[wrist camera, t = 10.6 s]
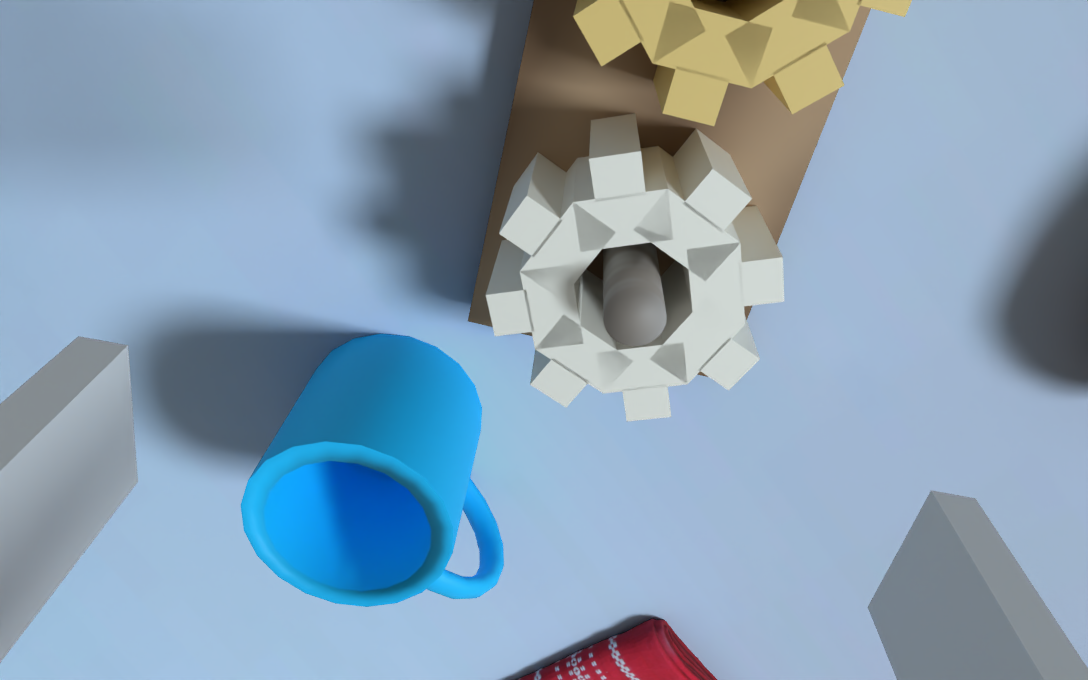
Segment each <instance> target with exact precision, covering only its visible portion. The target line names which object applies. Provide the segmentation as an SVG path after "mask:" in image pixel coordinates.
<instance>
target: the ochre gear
mask: <svg viewBox="0 0 1088 680" xmlns="http://www.w3.org/2000/svg"><path fill="white" fill-rule="evenodd" d="M911 1H912V0H727V1H726V2H722V1H718V0H577V3H576V7H575V11H574V15H573V17H574V19H575V21H576V22H577V24H578V26H579V28H580V29H581V31H582V33H583V35H584V37H585V38H586V40H587V42H588V44H589V45H590V47H591V49H592V51H593V52H594V54H595V56H596V58H597V59H598V61H599V63H600V65H601V67H602V66H603V65H605V64H606V63H608V62H610V61H611V60H613V59H614V58H616V57H618V56H619V55H621V54H622V53H624V52H626V51H627V50H629V49H630V48H632V47H634V46H635V45H637V44H638V43H640V42H641V43H642V45H643V47H644V48H645V50H646V52H647V54H648V56H649V58H650V60H651V61H652V63H653V64H657V69H656V72H655V76H654V79H653V82H654V86H655V89H656V93H657V96H658V100H659V103H660V107H661V110H662V113H663V114H667V115H671V116H675V117H679V118H683V119H687V120H691V121H695V122H699V123H703V124H707V125H711V126H714V125H715V122H716V119H717V116H718V113H719V110H720V107H721V104H722V101H723V98H724V95H725V92H726V89H727V86H728V83H732V84H736V85H740V86H744V87H748V88H753V87H755V86H756V85H758V84H760V83H762V82H764V83H765V85H766V86H767V87H768V88H769V89H770V90H771V91H772V92H773V94H774V95H775V96H776V97H777V98H778V99H779V100H780V101H781V102H782V104H783V105H784V106H785V107H786V108H787V109H788V110H789V111H790V113H791V114H794V113H796V112H798V111H799V110H801V109H803V108H805V107H807V106H808V105H810V104H812V103H814V102H815V101H817V100H819V99H821V98H823V97H824V96H826V95H828V94H830V93H832V92H833V91H835V90H837V89H839V88H840V87H842V86H844V83H843V81H842V79H841V77H840V74H839V72H838V70H837V68H836V65H835V63H834V61H833V59H832V56H831V54H830V52H829V50H828V47H827V44H829V43H831V42H832V41H834V40H836V39H837V38H839V37H841V36H843V35H844V34H846V33H848V32H850V30H851V27H852V25H853V22H854V20H855V17H856V14H857V12H858V9H859V7H860V5H861V6H864V7H868V8H872V9H876V10H880V11H884V12H888V13H891V14H895V15H899V16H903V17H905V15H906V13H907V11H908V8H909V6H910V3H911Z"/></svg>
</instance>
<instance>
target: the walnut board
mask: <svg viewBox="0 0 1088 680" xmlns="http://www.w3.org/2000/svg"><path fill="white" fill-rule="evenodd" d="M718 1H722V2H726V1H727V0H718ZM576 3H577V0H534V2H533V7H532V12H531V17H530V22H529V27H528V31H527V36H526V41H525V46H524V51H523V56H522V61H521V65H520V70H519V75H518V80H517V85H516V90H515V95H514V100H513V104H512V109H511V114H510V119H509V124H508V129H507V134H506V138H505V143H504V148H503V153H502V158H501V163H500V168H499V172H498V177H497V182H496V187H495V192H494V197H493V202H492V206H491V211H490V216H489V221H488V226H487V231H486V236H485V240H484V245H483V250H482V255H481V260H480V265H479V270H478V274H477V279H476V284H475V289H474V294H473V299H472V304H471V309H470V313H469V318H468V321H469V322H474V323H478V324H482V325H487V326H491V327H493V325H492V321H491V316H490V312H489V307H488V303H487V299H486V292H487V289H488V286H489V282H490V279H491V275H492V272H493V269H494V265H495V262H496V259H497V255H498V252H499V249H500V245H501V242H502V240H507V239H506V238H505V237H503V236H502V235H500V234H499V232H500V228H501V225H502V222H503V219H504V216H505V212H506V209H507V206H508V203H509V200H510V196H511V193H512V190H513V187H514V185H515V183H516V182H517V181H518V179H519V178H520V177H521V175H522V174H523V172H524V171H525V170H526V168H527V167H528V165H529V164H530V163H531V161H532V160H533V158H534V157H535V156H536V154H537V153H540V154H541V155H543V156H544V157H545V158H547V159H548V160H550V161H551V162H552V163H554V164H555V165H556V166H558V167H559V168H561V169H562V170H563V171H565V172H567V171H568V170H569V168H570V167H571V166H572V164H573V163H574V162H575V160H576V159H577V158H580V157H587V156H589V148H590V129H591V120H595V119H601V118H608V117H614V116H621V115H627V114H634V113H635V116H636V122H637V128H638V135H639V141H640V148H648V147H654V146H659V147H660V148H662V149H663V150H664V151H665V152H667V153H668V154H669V155H671V156H672V157H673V156H674V155H675V154H676V152H677V151H678V150H679V149H680V147H681V146H682V145H683V144H684V143H685V141H686V140H687V139H688V138H689V136H690V135H691V134H692V133H693V132H694V130H695V129H697V130H699V131H700V132H701V133H703V134H704V135H705V136H707V137H708V138H709V139H710V140H712V141H713V142H714V143H716V144H717V145H718V146H720V147H721V148H722V149H723V150H725V151H726V152H727V153H729V154H730V156H731V158H732V160H733V162H734V164H735V166H736V168H737V170H738V172H739V174H740V176H741V178H742V180H743V182H744V184H745V186H746V188H747V190H748V192H749V193H750V195H751V197H752V199H751V201H750V202H749V203H748V204H747V205H746V206H745V207H750V206H757V207H758V209H759V211H760V213H761V215H762V217H763V219H764V221H765V223H766V225H767V227H768V229H769V231H770V233H771V235H772V237H773V239H774V241H775V243H776V245H777V243H778V240H779V238H780V235H781V233H782V230H783V228H784V225H785V223H786V220H787V218H788V215H789V213H790V210H791V208H792V205H793V203H794V200H795V198H796V195H797V192H798V190H799V187H800V185H801V182H802V180H803V177H804V175H805V172H806V170H807V167H808V165H809V162H810V160H811V157H812V155H813V152H814V150H815V147H816V145H817V142H818V140H819V137H820V135H821V132H822V130H823V127H824V125H825V122H826V120H827V117H828V115H829V112H830V110H831V107H832V105H833V102H834V100H835V97H836V95H837V92H838V90H839V89H837V90H835V91H833V92H832V93H830V94H828V95H826V96H824V97H823V98H821V99H819V100H817V101H815V102H814V103H812V104H810V105H808V106H807V107H805V108H803V109H801V110H799V111H798V112H796V113H794V114H791V113H790V111H789V110H788V109H787V108H786V107H785V106H784V105H783V104H782V102H781V101H780V100H779V99H778V98H777V97H776V96H775V95H774V94H773V92H772V91H771V90H770V89H769V88H768V87H767V86H766V85H765V83H764V82H762V83H760V84H758V85H756V86H755V87H753V88H748V87H744V86H740V85H736V84H732V83H728V86H727V89H726V92H725V95H724V98H723V101H722V104H721V107H720V110H719V113H718V116H717V119H716V122H715V125H714V126H711V125H707V124H703V123H699V122H695V121H691V120H687V119H683V118H679V117H675V116H671V115H667V114H663V113H662V110H661V107H660V103H659V100H658V96H657V93H656V89H655V86H654V82H653V79H654V76H655V72H656V69H657V64H653V63H652V61H651V60H650V58H649V56H648V54H647V52H646V50H645V48H644V47H643V45H642V43H641V42H640V43H638V44H637V45H635V46H634V47H632V48H630V49H629V50H627V51H626V52H624V53H622V54H621V55H619V56H618V57H616V58H614V59H613V60H611V61H610V62H608V63H606V64H605V65H603V66H602V67H601V65H600V63H599V61H598V59H597V58H596V56H595V54H594V52H593V51H592V49H591V47H590V45H589V44H588V42H587V40H586V38H585V37H584V35H583V33H582V31H581V29H580V28H579V26H578V24H577V22H576V21H575V19H574V17H573V15H574V11H575V7H576ZM870 10H871V8H868V7H864V6H861V5H860V7H859V9H858V12H857V14H856V17H855V20H854V22H853V25H852V27H851V30H850V32H848V33H846V34H844V35H843V36H841V37H839V38H837V39H836V40H834V41H832V42H831V43H829V44H827V47H828V50H829V52H830V54H831V56H832V59H833V61H834V63H835V65H836V68H837V70H838V72H839V74H840V77H841V79H842V80H843V77H844V75H845V72H846V70H847V67H848V65H849V62H850V60H851V57H852V55H853V52H854V50H855V47H856V45H857V42H858V40H859V37H860V35H861V32H862V30H863V27H864V25H865V22H866V20H867V17H868V15H869V12H870ZM674 261H675V259H673V258H672V257H671V256H669V255H668V254H666V253H665V252H664V251H662V250H661V249H659V248H658V247H657V246H655V245H654V244H652V243H651V242H650V243H643V244H635V245H628V246H620V247H613V248H605V249H602V250H601V251H600V252H599V254H598V255H597V256H596V257H595V258H594V260H593V261H592V262H591V263H590V265H589V266H588V267H587V268H586V269H587V270H588V271H589V272H591V273H592V274H594V275H595V276H597V277H598V278H600V279H601V280H602V281H603V321H604V326H605V329H606V331H607V333H608V334H609V335H610V336H611V337H612V338H613V339H614V340H615V341H617V342H619V343H621V344H624V345H628V346H641V345H645V344H648V343H650V342H652V341H654V340H655V339H656V338H657V337H658V336H659V335H660V334H661V333H662V331H663V330H664V328H665V325H666V320H667V315H666V308H665V302H664V296H663V289H662V283H661V276H662V275H663V274H664V273H665V271H666V270H667V269H668V268H669V267H670V266H671V265H672V263H673V262H674ZM751 308H752V305H751V306H744V313H745V317H746V320H747V318H748V315H749V313H750V310H751ZM521 334H525V335H530V336H532V332H527V333H521ZM698 375H702V376H707V375H705V374H704V373H702V372H701V371H700V372H699V373H698ZM707 377H708V376H707Z"/></svg>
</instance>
